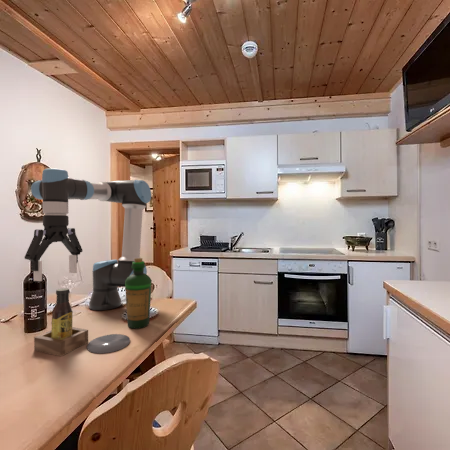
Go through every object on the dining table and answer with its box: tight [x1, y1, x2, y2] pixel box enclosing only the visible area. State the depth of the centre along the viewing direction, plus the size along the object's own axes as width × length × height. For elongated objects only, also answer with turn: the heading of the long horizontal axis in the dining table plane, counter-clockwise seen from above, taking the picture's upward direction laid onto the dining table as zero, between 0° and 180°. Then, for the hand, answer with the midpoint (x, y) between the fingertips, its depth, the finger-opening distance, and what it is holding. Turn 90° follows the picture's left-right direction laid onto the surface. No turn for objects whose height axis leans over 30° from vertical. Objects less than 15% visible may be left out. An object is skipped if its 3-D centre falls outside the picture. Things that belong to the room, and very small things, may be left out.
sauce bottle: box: [51, 287, 73, 340], centre depth 96 cm, size 7×6×20 cm
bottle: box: [124, 257, 153, 330], centre depth 115 cm, size 11×11×28 cm
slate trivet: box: [86, 333, 131, 354], centre depth 98 cm, size 14×14×1 cm
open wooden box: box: [33, 326, 89, 357], centre depth 96 cm, size 11×12×4 cm
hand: (56, 276), depth 95 cm, fingers open, 13 cm apart
